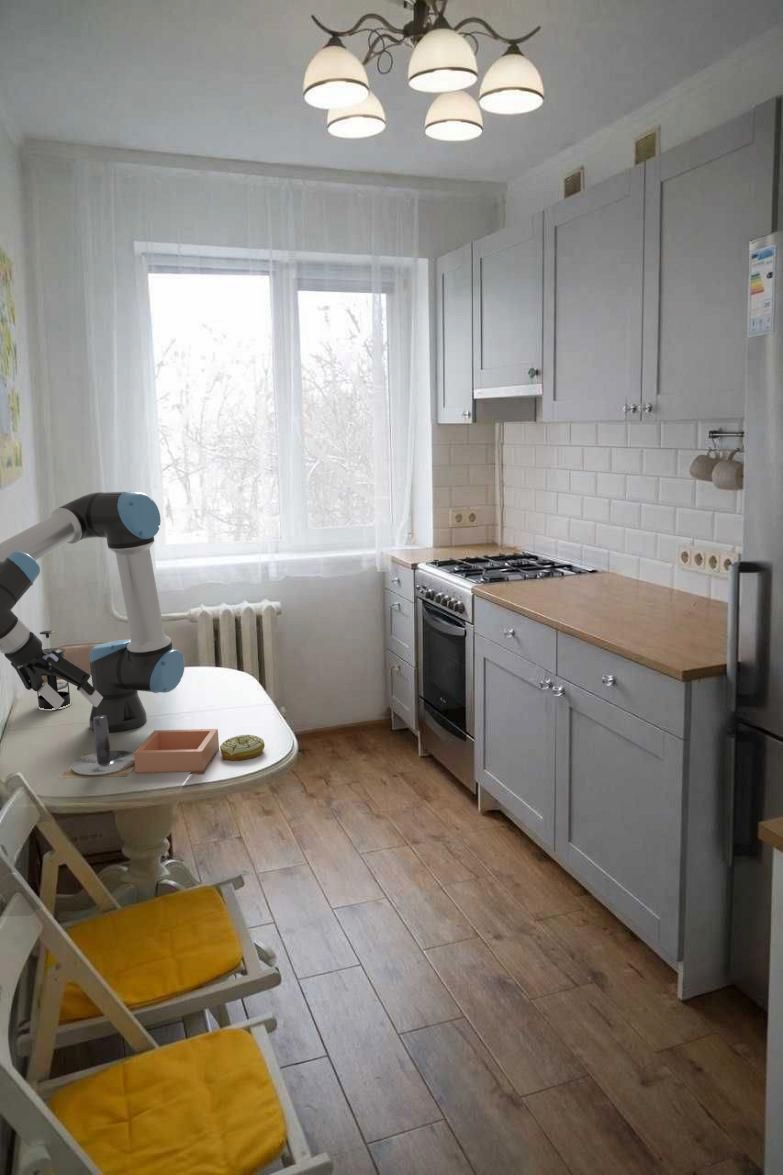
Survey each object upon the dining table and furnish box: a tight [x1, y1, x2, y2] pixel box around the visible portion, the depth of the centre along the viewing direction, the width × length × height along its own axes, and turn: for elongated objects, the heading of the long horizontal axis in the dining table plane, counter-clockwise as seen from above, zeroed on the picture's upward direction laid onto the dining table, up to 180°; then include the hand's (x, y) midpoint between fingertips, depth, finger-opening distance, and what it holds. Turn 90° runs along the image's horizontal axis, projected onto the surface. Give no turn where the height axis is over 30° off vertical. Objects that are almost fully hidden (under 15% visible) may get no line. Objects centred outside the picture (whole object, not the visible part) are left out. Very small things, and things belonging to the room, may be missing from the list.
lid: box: [70, 715, 135, 776], centre depth 213 cm, size 15×15×12 cm
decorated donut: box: [219, 734, 266, 761], centre depth 219 cm, size 10×11×4 cm
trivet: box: [58, 751, 135, 779], centre depth 214 cm, size 16×16×1 cm
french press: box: [36, 630, 71, 709], centre depth 265 cm, size 12×9×23 cm
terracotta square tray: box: [133, 728, 220, 775], centre depth 215 cm, size 16×16×6 cm
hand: (79, 703), depth 206 cm, fingers open, 13 cm apart
